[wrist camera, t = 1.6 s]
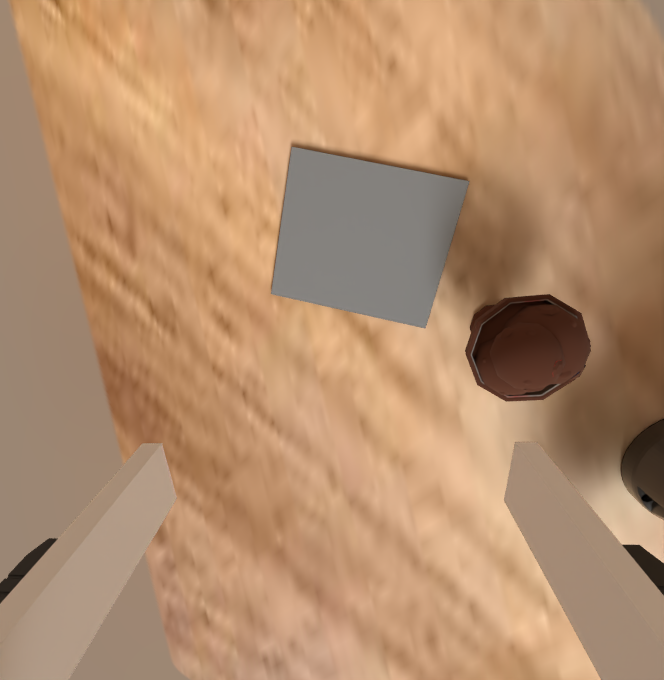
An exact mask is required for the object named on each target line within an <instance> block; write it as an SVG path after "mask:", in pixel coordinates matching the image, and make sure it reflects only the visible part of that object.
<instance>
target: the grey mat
mask: <svg viewBox="0 0 664 680" xmlns="http://www.w3.org/2000/svg"><path fill="white" fill-rule="evenodd" d="M468 185H469V181H465V180H460V179H455V178H450V177H445V176H440V175H435V174H429V173H424V172H419V171H414V170H409V169H404V168H399V167H393V166H388V165H383V164H378V163H373V162H368V161H363V160H358V159H352V158H347V157H342V156H337V155H332V154H327V153H322V152H316V151H311V150H306V149H301V148H296V147H292V149H291V156H290V163H289V170H288V177H287V184H286V192H285V199H284V206H283V213H282V220H281V227H280V234H279V242H278V249H277V256H276V263H275V270H274V277H273V284H272V292H271V294H273V295H278V296H282V297H287V298H291V299H296V300H300V301H305V302H309V303H314V304H318V305H322V306H327V307H331V308H336V309H340V310H345V311H349V312H354V313H358V314H363V315H367V316H372V317H376V318H381V319H385V320H390V321H394V322H399V323H403V324H408V325H412V326H417V327H421V328H426V325H427V321H428V318H429V315H430V311H431V308H432V305H433V301H434V298H435V295H436V291H437V288H438V285H439V281H440V278H441V275H442V271H443V268H444V265H445V261H446V258H447V255H448V251H449V248H450V245H451V241H452V238H453V235H454V231H455V228H456V225H457V221H458V218H459V215H460V211H461V208H462V205H463V201H464V198H465V195H466V191H467V188H468Z"/></svg>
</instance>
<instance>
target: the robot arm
mask: <svg viewBox="0 0 664 680" xmlns="http://www.w3.org/2000/svg"><path fill="white" fill-rule="evenodd" d="M621 472H622V479H623V482H624V485H625V487H626V488H627V490H628V491H629V492H630V494H631V495H632V496H633V497H634V498H635V499H636V500H637V501H638V502H639V503H640V504H641V505H642V506H643V507H644V508H646V509H647V510H648V511H650V512H651V513H652V514H654V515H656V516H657V517H659V518H661V519H663V520H664V420H662V421H659V422H657V423H656V424H654V425H652V426H650V427H649V428H648V429H646V430H645V431H643V432H642V433H641V434H640V435H639V436H638V437H637V438H636V439H635V440H634V441H633V442H632V444H631V445H630V446H629V448H628V450H627V451H626V453H625V456H624V458H623V462H622V470H621ZM176 499H177V497H176V493H175V490H174V486H173V482H172V479H171V475H170V471H169V468H168V464H167V460H166V457H165V453H164V449H163V446H162V443H142V445H141V446H140V447H139V448H138V449H137V450H136V451H135V452H134V454H133V455H132V456H131V457H130V458H129V459H128V460H127V462H126V463H125V464H124V465H123V466H122V467H121V468H120V469H119V471H118V472H117V473H116V474H115V475H114V476H113V477H112V478H111V480H110V481H109V482H108V483H107V484H106V485H105V486H104V487H103V489H102V490H101V491H100V492H99V493H98V494H97V495H96V497H95V498H94V499H93V500H92V501H91V502H90V503H89V504H88V505H87V507H86V508H85V509H84V510H83V511H82V512H81V513H80V514H79V516H78V517H77V518H76V519H75V520H74V521H73V522H72V523H71V525H70V526H69V527H68V528H67V529H66V530H65V532H64V533H63V534H62V535H61V536H60V537H59V538H58V539H52V538H51V539H50V538H49V539H48V540H46V541H45V542H44V543H42V544H41V545H40V546H38V547H37V548H36V549H34V550H33V551H31V552H30V553H29V554H28V555H26V556H25V557H24V559H23V560H22V561H21V562H20V563H19V564H18V565H17V566H16V567H15V568H14V569H13V570H12V571H11V572H10V573H9V575H8V578H7V579H4V580H3V581H2V582H1V583H0V680H69V678H70V676H71V675H72V673H73V671H74V670H75V668H76V666H77V665H78V663H79V661H80V660H81V658H82V656H83V655H84V653H85V651H86V649H87V648H88V646H89V645H90V643H91V641H92V639H93V638H94V636H95V634H96V633H97V631H98V629H99V628H100V626H101V624H102V623H103V621H104V619H105V618H106V616H107V614H108V613H109V611H110V609H111V608H112V606H113V604H114V603H115V601H116V599H117V598H118V596H119V594H120V593H121V591H122V589H123V588H124V586H125V584H126V583H127V581H128V579H129V578H130V576H131V574H132V572H133V571H134V569H135V568H136V566H137V564H138V562H139V561H140V559H141V557H142V556H143V554H144V552H145V551H146V549H147V547H148V546H149V544H150V542H151V541H152V539H153V537H154V536H155V534H156V532H157V531H158V529H159V527H160V526H161V524H162V522H163V521H164V519H165V517H166V516H167V514H168V512H169V511H170V509H171V507H172V506H173V504H174V502H175V501H176ZM504 501H505V503H506V505H507V507H508V509H509V510H510V512H511V514H512V516H513V518H514V520H515V521H516V523H517V525H518V527H519V529H520V531H521V532H522V534H523V536H524V538H525V540H526V542H527V544H528V545H529V547H530V549H531V551H532V553H533V555H534V556H535V558H536V560H537V562H538V564H539V566H540V568H541V569H542V571H543V573H544V575H545V577H546V579H547V580H548V582H549V584H550V586H551V588H552V590H553V592H554V593H555V595H556V597H557V599H558V601H559V603H560V604H561V606H562V608H563V610H564V612H565V614H566V616H567V617H568V619H569V621H570V623H571V625H572V627H573V628H574V630H575V632H576V634H577V636H578V638H579V640H580V641H581V643H582V645H583V647H584V649H585V651H586V652H587V654H588V656H589V658H590V660H591V662H592V663H593V665H594V667H595V669H596V671H597V673H598V675H599V676H600V678H601V680H664V563H662V562H661V561H660V560H658V559H657V558H656V557H654V556H653V555H652V554H650V553H649V552H648V551H646V550H645V549H644V548H643V547H641V546H640V545H622V544H621V543H620V542H619V541H618V540H617V538H616V537H615V536H614V535H613V533H612V532H611V531H610V530H609V529H608V527H607V526H606V525H605V524H604V523H603V521H602V520H601V519H600V518H599V516H598V515H597V514H596V513H595V512H594V510H593V509H592V508H591V507H590V506H589V504H588V503H587V502H586V501H585V499H584V498H583V497H582V496H581V495H580V493H579V492H578V491H577V490H576V489H575V487H574V486H573V485H572V484H571V482H570V481H569V480H568V479H567V478H566V476H565V475H564V474H563V473H562V472H561V470H560V469H559V468H558V467H557V465H556V464H555V463H554V462H553V461H552V459H551V458H550V457H549V456H548V455H547V453H546V452H545V451H544V450H543V448H542V447H541V446H540V445H539V444H538V442H515V445H514V451H513V456H512V461H511V466H510V471H509V477H508V482H507V487H506V492H505V497H504Z"/></svg>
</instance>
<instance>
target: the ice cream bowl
mask: <svg viewBox="0 0 664 680" xmlns="http://www.w3.org/2000/svg"><path fill="white" fill-rule="evenodd" d="M470 330H471V335H470V338H469V341H468V344H467V347H466V350H465V352H466V356H467V359H468V362H469V364H470V367H471V369H472V372H473V375H474V377H475V380H476V383H477V385H478V386H480V387H482V388H484V389H485V390H487V391H489V392H491V393H492V394H494V395H496V396H498V397H499V398H501V399H503V400H505V401H527V400H543V399H545V398H547V397H548V396H550V395H551V394H553V393H554V392H556V391H558V390H559V389H561V388H562V387H564V386H566V385H567V384H569V383H570V382H572V381H574V380H575V379H576V378H577V377H580V375H581V373H582V371H583V370H584V368H585V366H586V365H585V363H586V361H587V358H588V356H589V354H590V351H591V349H590V347H591V345H590V340H589V338H588V335H587V331H586V328H585V324H584V321H583V317H582V314H581V313H580V312H578V311H577V310H575V309H573V308H572V307H570V306H568V305H567V304H565V303H563V302H562V301H560V300H558V299H556V298H555V297H553V296H551V295H550V294H548V295H534V296H523V297H512V298H504V299H503V300H501V301H500V302H499V303H497V304H496V305H489V306H485V307H484V308H483V309H481V310H480V311H479V312H477V313H476V314H475V315H474V317H473V320H472V323H471V326H470Z"/></svg>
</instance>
